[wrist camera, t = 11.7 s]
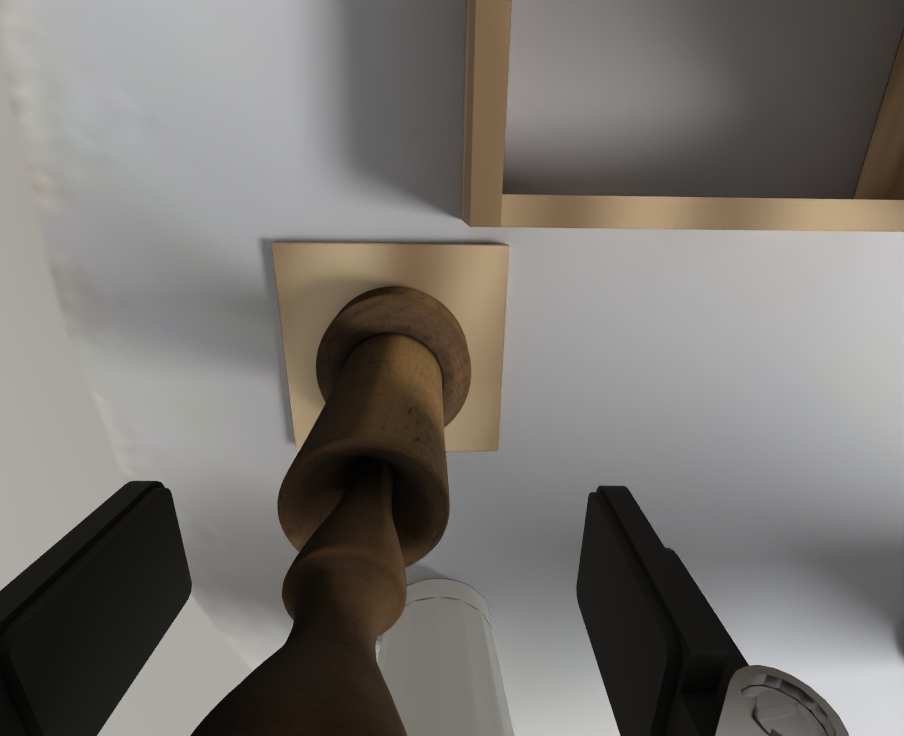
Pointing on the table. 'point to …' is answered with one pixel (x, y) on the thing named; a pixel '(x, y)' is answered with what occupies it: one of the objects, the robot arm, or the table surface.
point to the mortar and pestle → (358, 517)
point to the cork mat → (405, 265)
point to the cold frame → (483, 205)
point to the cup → (445, 663)
